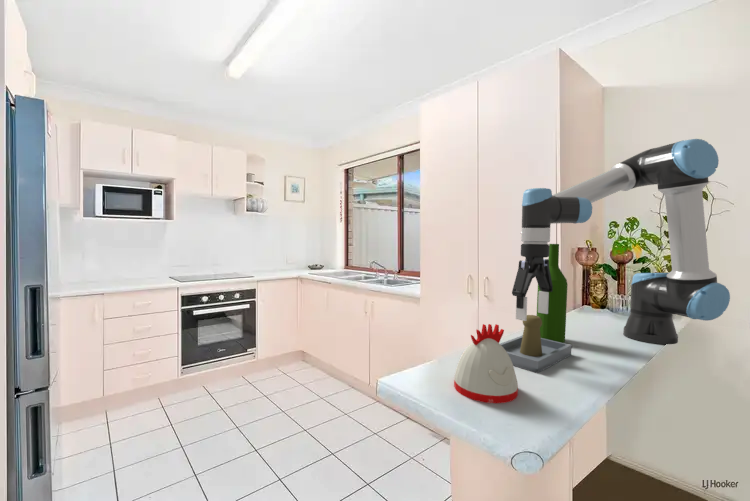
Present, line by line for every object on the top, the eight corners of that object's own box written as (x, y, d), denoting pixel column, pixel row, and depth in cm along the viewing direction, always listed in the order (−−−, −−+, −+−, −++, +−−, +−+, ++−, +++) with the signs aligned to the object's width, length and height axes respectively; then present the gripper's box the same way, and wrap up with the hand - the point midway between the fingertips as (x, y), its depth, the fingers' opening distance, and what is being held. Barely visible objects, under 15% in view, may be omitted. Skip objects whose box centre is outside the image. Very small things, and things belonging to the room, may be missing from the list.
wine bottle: (559, 336, 124) (563, 243, 123) (569, 344, 116) (573, 244, 114) (532, 335, 126) (536, 243, 124) (539, 342, 117) (543, 243, 116)
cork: (544, 357, 100) (546, 318, 100) (522, 355, 101) (523, 317, 101) (539, 350, 106) (541, 314, 106) (517, 348, 107) (519, 312, 107)
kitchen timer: (531, 399, 77) (534, 330, 76) (475, 407, 73) (477, 334, 72) (492, 374, 90) (494, 315, 89) (443, 379, 86) (445, 318, 86)
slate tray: (525, 343, 116) (525, 334, 116) (571, 354, 106) (571, 344, 106) (488, 358, 102) (488, 347, 102) (537, 373, 91) (537, 361, 91)
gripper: (541, 242, 113) (538, 308, 114) (500, 243, 97) (497, 320, 98) (566, 243, 108) (563, 312, 109) (527, 244, 91) (524, 325, 92)
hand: (532, 316), depth 103 cm, fingers open, 13 cm apart
